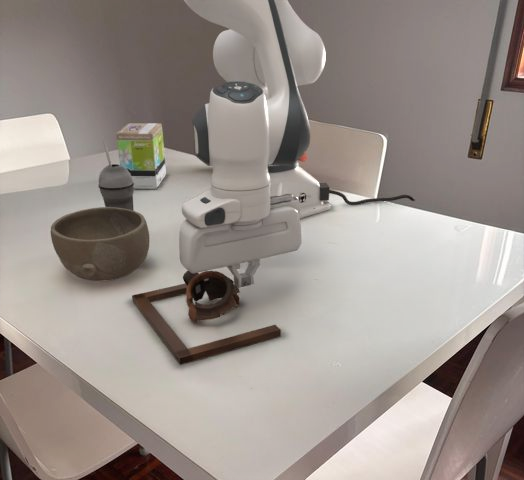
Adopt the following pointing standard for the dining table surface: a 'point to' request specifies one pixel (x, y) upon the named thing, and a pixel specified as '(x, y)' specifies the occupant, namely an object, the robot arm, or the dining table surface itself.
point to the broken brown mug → (210, 294)
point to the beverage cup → (116, 185)
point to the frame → (173, 340)
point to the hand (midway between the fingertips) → (243, 285)
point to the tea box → (142, 153)
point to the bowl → (101, 242)
